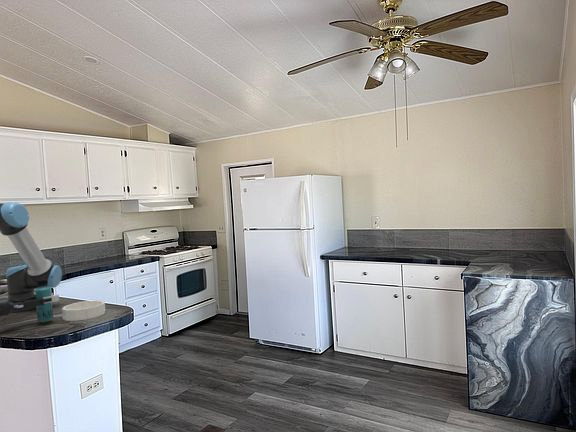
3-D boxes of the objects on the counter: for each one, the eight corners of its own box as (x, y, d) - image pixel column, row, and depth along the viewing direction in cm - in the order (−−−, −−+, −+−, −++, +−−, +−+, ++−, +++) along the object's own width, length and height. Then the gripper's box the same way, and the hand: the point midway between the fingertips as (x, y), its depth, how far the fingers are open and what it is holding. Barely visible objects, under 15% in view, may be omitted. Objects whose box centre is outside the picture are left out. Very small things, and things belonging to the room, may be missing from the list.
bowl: (57, 317, 198) (56, 307, 198) (95, 308, 211) (94, 299, 211) (72, 323, 186) (71, 312, 186) (111, 313, 199) (110, 303, 199)
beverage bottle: (38, 322, 191) (35, 279, 190) (55, 320, 193) (51, 277, 192) (35, 325, 185) (32, 281, 184) (52, 323, 187) (49, 279, 186)
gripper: (-9, 313, 181) (49, 302, 199) (4, 320, 169) (64, 307, 186) (-10, 296, 181) (47, 286, 198) (2, 302, 169) (63, 290, 186)
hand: (55, 296), depth 192 cm, fingers closed on beverage bottle, 6 cm apart
